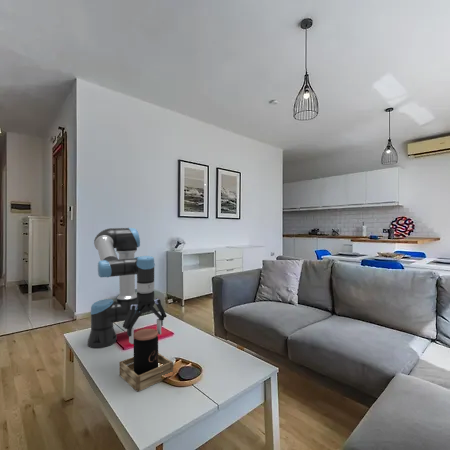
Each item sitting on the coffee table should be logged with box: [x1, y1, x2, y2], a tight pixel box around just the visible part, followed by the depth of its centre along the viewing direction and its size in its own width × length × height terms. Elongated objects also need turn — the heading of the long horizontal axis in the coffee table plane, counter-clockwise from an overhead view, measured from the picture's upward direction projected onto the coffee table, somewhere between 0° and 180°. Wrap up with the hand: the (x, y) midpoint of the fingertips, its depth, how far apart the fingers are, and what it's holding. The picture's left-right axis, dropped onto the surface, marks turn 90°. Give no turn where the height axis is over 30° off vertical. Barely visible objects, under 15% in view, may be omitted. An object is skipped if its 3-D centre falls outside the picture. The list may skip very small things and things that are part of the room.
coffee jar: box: [133, 328, 159, 377], centre depth 124 cm, size 11×11×18 cm
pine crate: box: [118, 352, 174, 392], centre depth 125 cm, size 17×17×6 cm
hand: (145, 338), depth 125 cm, fingers open, 13 cm apart
